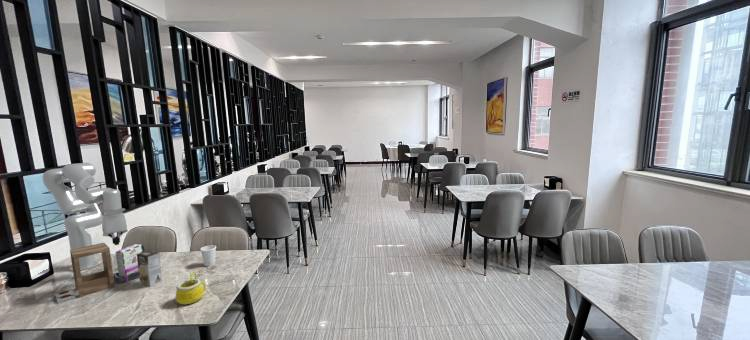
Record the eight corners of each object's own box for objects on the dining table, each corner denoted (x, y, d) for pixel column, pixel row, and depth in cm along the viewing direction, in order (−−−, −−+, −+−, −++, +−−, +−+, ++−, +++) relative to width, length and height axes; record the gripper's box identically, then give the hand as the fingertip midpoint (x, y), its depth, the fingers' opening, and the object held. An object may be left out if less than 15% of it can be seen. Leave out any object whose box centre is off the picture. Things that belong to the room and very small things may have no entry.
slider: (109, 273, 178) (106, 252, 177) (144, 264, 190) (142, 244, 189) (117, 283, 166) (114, 261, 164) (154, 272, 178) (151, 251, 176)
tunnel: (75, 289, 162) (69, 249, 159) (109, 280, 172) (104, 242, 169) (79, 297, 153) (73, 255, 151) (114, 287, 163) (109, 247, 161)
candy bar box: (138, 272, 180) (134, 243, 178) (145, 272, 179) (142, 244, 177) (118, 281, 169) (114, 251, 167) (126, 282, 168) (122, 252, 166)
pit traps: (55, 295, 156) (54, 293, 156) (72, 290, 160) (71, 288, 160) (57, 303, 148) (57, 301, 148) (75, 298, 152) (75, 295, 152)
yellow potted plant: (184, 308, 140) (182, 282, 139) (171, 302, 146) (169, 277, 145) (212, 295, 151) (210, 271, 149) (199, 290, 157) (197, 266, 155)
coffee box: (139, 283, 166) (135, 253, 164) (152, 278, 172) (149, 249, 170) (150, 286, 162) (146, 256, 160) (163, 281, 168) (159, 251, 166)
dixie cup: (220, 263, 190) (219, 246, 188) (206, 268, 183) (205, 251, 182) (212, 260, 194) (211, 244, 193) (198, 265, 187) (197, 248, 186)
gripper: (128, 208, 185) (131, 239, 187) (94, 213, 173) (97, 246, 176) (131, 210, 180) (134, 242, 182) (96, 216, 169) (100, 249, 171)
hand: (116, 244), depth 179 cm, fingers closed
